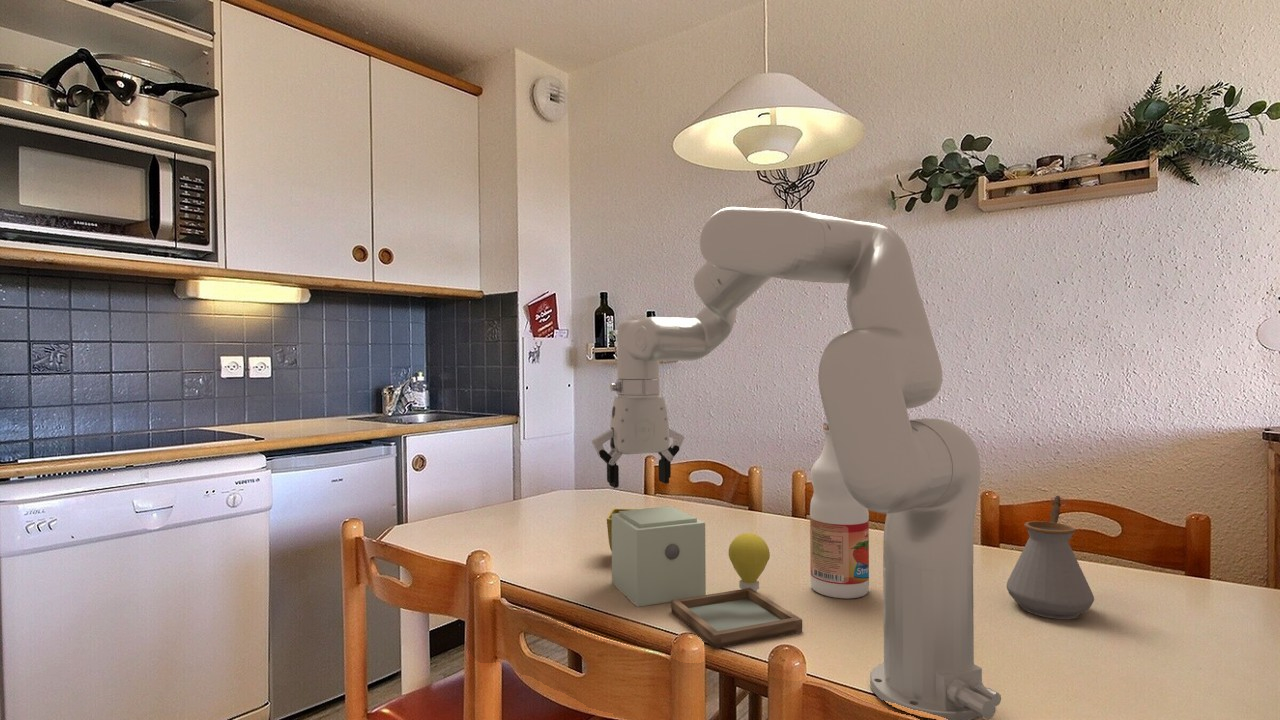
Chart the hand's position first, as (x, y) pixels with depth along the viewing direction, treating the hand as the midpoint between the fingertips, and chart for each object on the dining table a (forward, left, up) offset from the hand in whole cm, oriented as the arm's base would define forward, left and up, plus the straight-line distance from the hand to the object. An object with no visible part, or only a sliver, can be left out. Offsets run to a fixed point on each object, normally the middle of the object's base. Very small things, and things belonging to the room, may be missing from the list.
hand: (639, 484), depth 119 cm
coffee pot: (-37, -56, -16) cm, 69 cm away
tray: (-25, -5, -16) cm, 30 cm away
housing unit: (-8, 0, -16) cm, 18 cm away
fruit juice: (-20, -28, -16) cm, 38 cm away
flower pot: (+9, -2, -17) cm, 19 cm away
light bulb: (-16, -13, -16) cm, 26 cm away
